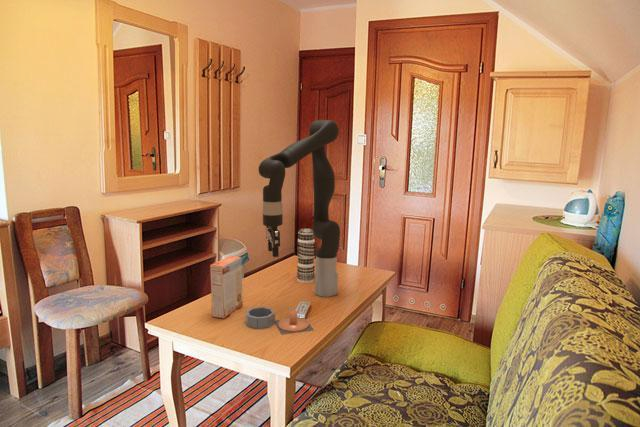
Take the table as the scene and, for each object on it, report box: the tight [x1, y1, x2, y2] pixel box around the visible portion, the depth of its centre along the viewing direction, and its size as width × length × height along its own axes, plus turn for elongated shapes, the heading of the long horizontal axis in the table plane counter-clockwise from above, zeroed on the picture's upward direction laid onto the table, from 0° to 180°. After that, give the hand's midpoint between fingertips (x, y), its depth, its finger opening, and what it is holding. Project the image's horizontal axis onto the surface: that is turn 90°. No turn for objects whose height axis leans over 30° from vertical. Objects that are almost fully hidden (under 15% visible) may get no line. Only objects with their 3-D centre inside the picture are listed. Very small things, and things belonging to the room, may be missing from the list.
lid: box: [278, 310, 310, 333], centre depth 157 cm, size 11×11×5 cm
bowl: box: [245, 306, 276, 330], centre depth 160 cm, size 10×10×4 cm
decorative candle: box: [296, 227, 317, 284], centre depth 208 cm, size 9×9×25 cm
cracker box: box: [209, 255, 244, 319], centre depth 169 cm, size 14×6×21 cm, turn 160°
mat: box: [274, 317, 315, 336], centre depth 158 cm, size 12×12×1 cm
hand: (273, 253), depth 168 cm, fingers open, 8 cm apart
